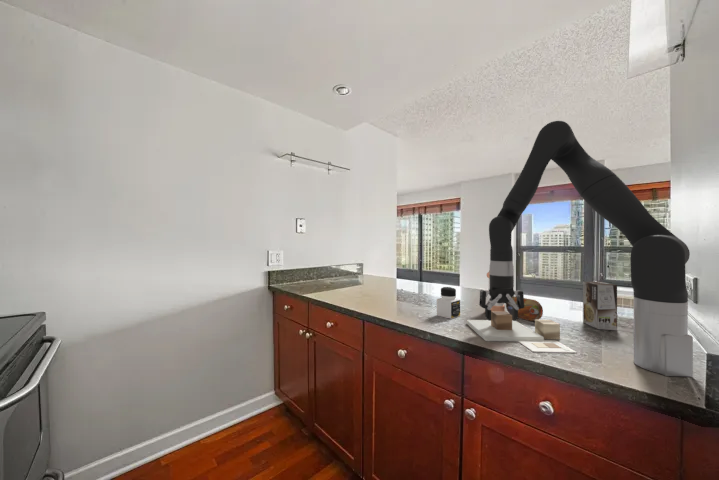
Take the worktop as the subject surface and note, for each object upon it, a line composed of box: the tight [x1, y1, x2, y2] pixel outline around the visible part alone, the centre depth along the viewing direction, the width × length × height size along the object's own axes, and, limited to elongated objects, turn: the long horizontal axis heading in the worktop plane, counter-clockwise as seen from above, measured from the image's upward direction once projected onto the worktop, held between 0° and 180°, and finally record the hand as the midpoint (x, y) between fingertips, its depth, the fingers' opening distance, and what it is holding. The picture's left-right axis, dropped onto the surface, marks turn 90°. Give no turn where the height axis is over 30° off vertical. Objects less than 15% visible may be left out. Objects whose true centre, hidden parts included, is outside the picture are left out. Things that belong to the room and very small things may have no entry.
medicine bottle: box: [436, 286, 461, 320], centre depth 118 cm, size 7×7×12 cm
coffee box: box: [582, 280, 618, 331], centre depth 103 cm, size 9×6×16 cm
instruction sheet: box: [517, 339, 578, 354], centre depth 84 cm, size 9×12×1 cm
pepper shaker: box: [486, 271, 506, 312], centre depth 122 cm, size 7×7×19 cm
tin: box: [505, 295, 544, 322], centre depth 114 cm, size 15×3×8 cm, turn 21°
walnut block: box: [491, 310, 512, 330], centre depth 97 cm, size 5×5×5 cm
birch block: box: [534, 319, 561, 340], centre depth 92 cm, size 5×5×5 cm
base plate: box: [466, 319, 545, 342], centre depth 97 cm, size 18×18×2 cm
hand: (501, 320), depth 97 cm, fingers open, 8 cm apart
